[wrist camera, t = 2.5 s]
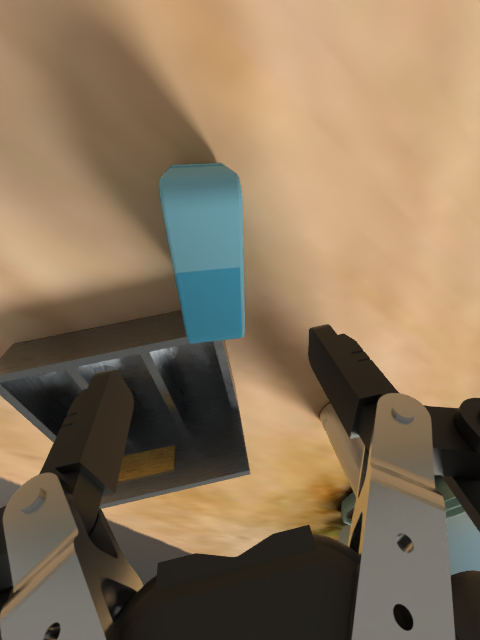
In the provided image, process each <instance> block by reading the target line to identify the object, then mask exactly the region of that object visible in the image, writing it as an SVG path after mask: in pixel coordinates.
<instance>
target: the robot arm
mask: <svg viewBox="0 0 480 640" xmlns="http://www.w3.org/2000/svg"><path fill="white" fill-rule="evenodd" d="M308 356H309V361H310V365H311V367H312V369H313V371H314V373H315V375H316V377H317V379H318V381H319V382H320V384H321V386H322V388H323V390H324V392H325V394H326V395H327V397H328V399H329V401H330V403H329V404H328V405H327V406H325V407H324V409H323V410H322V411H321V413H320V420H321V422H322V425H323V427H324V429H325V431H326V433H327V435H328V438H329V440H330V442H331V444H332V446H333V449H334V451H335V453H336V455H337V457H338V459H339V462H340V464H341V466H342V468H343V470H344V472H345V475H346V477H347V479H348V481H349V483H350V485H351V488H352V490H353V492H354V494H355V496H356V503H355V508H354V512H353V517H352V523H351V529H350V535H349V542H348V546H346V545H344V544H343V543H341V542H339V541H337V540H335V539H332V538H330V537H326V536H323V535H318V534H312V532H311V529H310V526H309V525H307V526H303V527H299V528H295V529H291V530H287V531H283V532H279V533H275V534H272V535H271V536H269V537H267V538H266V539H264V540H263V541H261V542H260V543H258V544H257V545H255V546H253V547H252V548H250V549H249V550H247V551H246V552H244V553H243V554H241V555H239V556H237V557H225V556H216V555H206V554H197V553H195V554H192V555H188V556H184V557H180V558H176V559H172V560H168V561H164V562H160V563H158V569H157V575H156V576H155V577H153V578H152V579H151V580H150V581H149V582H147V583H146V584H145V585H144V586H143V584H142V582H141V580H140V579H139V577H138V575H137V574H136V572H135V571H134V570H133V568H132V567H131V566H130V565H129V564H128V562H127V561H126V559H125V558H124V556H123V554H122V552H121V550H120V548H119V545H118V543H117V541H116V539H115V537H114V535H113V533H112V531H111V529H110V526H109V525H108V522H107V520H106V518H105V516H104V514H103V512H102V510H101V509H100V508H99V507H100V503H101V499H102V497H104V496H108V495H112V494H115V492H116V487H117V482H118V478H119V473H120V469H121V464H122V459H123V455H124V450H125V445H126V441H127V436H128V431H129V427H130V422H131V418H132V413H133V408H134V399H133V395H132V393H131V391H130V389H129V388H128V386H127V384H126V383H125V381H124V380H123V378H122V377H121V375H120V373H119V372H118V371H117V370H110V371H105V372H100V373H96V374H94V375H93V377H92V379H91V381H90V384H89V386H88V388H87V389H84V390H82V391H81V393H80V394H79V395H78V396H77V397H76V398H75V400H74V401H73V402H72V404H71V406H70V409H69V411H68V413H67V417H65V420H64V422H63V424H62V428H60V431H59V433H58V435H57V437H56V439H55V441H54V444H53V446H52V448H51V450H50V452H49V455H48V457H47V459H46V461H45V463H44V466H43V468H42V470H41V472H40V474H39V475H37V476H35V477H33V478H31V479H30V480H29V481H27V482H26V483H25V484H23V485H22V486H21V487H20V488H19V489H18V490H17V491H16V493H15V494H14V495H13V496H12V498H11V499H10V501H9V502H8V504H7V505H6V506H4V507H2V508H0V640H480V571H465V572H460V573H457V574H454V575H450V563H449V550H448V536H447V524H446V510H445V503H444V499H443V496H442V494H441V493H440V492H438V491H437V490H436V488H435V481H434V475H441V477H442V478H443V479H444V481H445V482H446V484H447V485H448V487H449V488H450V490H451V491H452V493H453V494H454V495H455V497H456V498H457V500H458V501H459V503H460V504H461V506H462V507H463V509H464V510H465V511H466V513H467V514H468V516H469V517H470V519H471V520H472V522H473V523H474V525H475V526H476V527H477V529H478V530H479V532H480V398H470V399H467V400H465V401H464V402H463V403H462V404H461V405H460V407H459V408H445V407H431V406H425V405H422V404H421V403H420V402H419V401H417V400H416V399H414V398H412V397H410V396H408V395H405V394H400V393H399V392H398V391H397V390H396V389H395V388H394V387H393V385H392V384H391V383H390V382H389V381H388V379H387V378H386V377H385V376H384V375H383V373H382V372H381V371H380V370H379V368H378V367H377V366H376V365H375V364H374V362H373V361H372V360H370V358H369V356H368V355H367V354H366V353H365V352H363V349H362V348H361V347H360V346H359V344H358V343H357V342H356V341H355V340H354V339H352V338H350V337H349V336H347V335H345V334H340V335H337V334H336V332H335V331H334V330H333V329H332V327H331V326H330V325H328V324H327V325H322V326H317V327H313V328H310V329H309V350H308Z"/></svg>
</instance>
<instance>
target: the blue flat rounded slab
mask: <svg viewBox="0 0 480 640" xmlns="http://www.w3.org/2000/svg"><path fill="white" fill-rule="evenodd" d="M159 191H160V200H161V207H162V212H163V218H164V223H165V228H166V233H167V238H168V243H169V248H170V254H171V259H172V264H173V269H174V274H175V279H176V285H177V290H178V295H179V300H180V305H181V310H182V315H183V321H184V326H185V331H186V336H187V340H188V342H189V343H191V344H193V343H202V342H210V341H218V340H227V339H235V338H242V337H243V336H244V334H245V306H244V257H243V208H242V192H241V185H240V180H239V177H238V175H237V174H236V173H235V172H234V171H232V170H231V169H229V168H228V167H226V166H225V165H223V164H222V163H204V164H181V165H172V166H171V167H170V168H169V169H168V170H167V171H166V172H165V173H164V174H163V175H162V177H161V178H160V181H159Z"/></svg>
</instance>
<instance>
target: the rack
mask: <svg viewBox="0 0 480 640" xmlns="http://www.w3.org/2000/svg"><path fill="white" fill-rule="evenodd" d="M110 370H117V371H118V372H119V373H120V375H121V377H122V378H123V380H124V381H125V383H126V384H127V386H128V388H129V389H130V391H131V393H132V395H133V399H134V408H133V413H132V418H131V422H130V427H129V431H128V436H127V441H126V445H125V450H124V455H123V459H122V464H121V469H120V473H119V478H118V482H117V487H116V492H115V494H112V495H108V496H104V497H102V499H101V503H100V507H99V508H100V509H102V508H106V507H111V506H115V505H119V504H124V503H128V502H132V501H137V500H141V499H145V498H150V497H154V496H158V495H162V494H167V493H171V492H175V491H180V490H184V489H188V488H193V487H197V486H201V485H206V484H210V483H214V482H218V481H223V480H227V479H231V478H236V477H240V476H244V475H249V474H250V469H249V463H248V457H247V451H246V446H245V440H244V434H243V428H242V423H241V417H240V411H239V406H238V400H237V394H236V388H235V383H234V379H233V375H232V370H231V366H230V362H229V357H228V353H227V349H226V344H225V340H218V341H210V342H202V343H193V344H191V343H189V342H188V340H187V336H186V331H185V326H184V321H183V315H182V310H181V311H176V312H171V313H166V314H161V315H156V316H151V317H146V318H141V319H136V320H131V321H126V322H121V323H116V324H111V325H106V326H101V327H96V328H92V329H87V330H82V331H77V332H72V333H67V334H62V335H57V336H52V337H47V338H42V339H37V340H32V341H27V342H22V343H17V344H13V345H12V346H11V347H10V348H9V349H8V350H7V351H6V352H5V354H4V355H3V356H2V357H1V358H0V395H1V396H2V397H3V398H4V399H5V400H6V401H7V402H9V403H10V404H11V405H12V406H13V407H14V408H15V409H16V410H18V411H19V412H20V413H21V414H22V415H23V416H24V417H25V418H27V419H28V420H29V421H30V422H31V423H32V424H33V425H34V426H36V427H37V428H38V429H39V430H40V431H41V432H42V433H43V434H45V435H46V436H47V437H48V438H49V439H50V440H51V441H52V442H54V441H55V439H56V437H57V435H58V433H59V431H60V428H62V424H63V422H64V420H65V417H67V413H68V411H69V409H70V406H71V404H72V402H73V401H74V400H75V398H76V397H77V396H78V395H79V394H80V393H81V391H82V390H84V389H87V388H88V386H89V384H90V381H91V379H92V377H93V375H94V374H96V373H100V372H105V371H110Z"/></svg>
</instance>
